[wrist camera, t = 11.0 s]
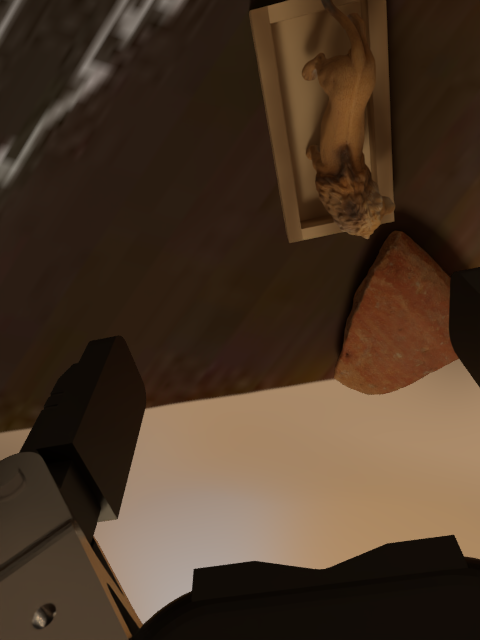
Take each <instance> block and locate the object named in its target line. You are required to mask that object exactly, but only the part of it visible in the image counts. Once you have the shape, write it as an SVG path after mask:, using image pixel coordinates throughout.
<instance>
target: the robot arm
mask: <svg viewBox="0 0 480 640" xmlns="http://www.w3.org/2000/svg"><path fill="white" fill-rule="evenodd" d="M449 336H450V341H451V344H452V347H453V349H454V352H455V353H456V355H457V356H458V358H459V359H460V360H461V362H462V363H463V365H464V366H465V367H466V369H467V370H468V372H469V373H470V374H471V376H472V377H473V379H474V380H475V381H476V383H477V384H478V386H479V387H480V267H478V268H473V269H468V270H462V271H457V272H454V273H453V274H452V276H451V280H450V302H449ZM145 407H146V392H145V387H144V383H143V381H142V378H141V376H140V374H139V371H138V369H137V367H136V364H135V362H134V360H133V357H132V355H131V353H130V350H129V348H128V346H127V344H126V341H125V340H124V338H123V337H121V336H114V337H109V338H104V339H98V340H93V341H90V342H89V343H88V345H87V347H86V349H85V351H84V353H83V355H82V357H81V359H80V361H79V363H76V364H73V365H72V366H71V367H70V368H69V369H68V370H67V371H66V372H65V373H64V374H63V375H62V376H61V377H60V378H59V379H58V381H57V383H56V384H55V386H54V388H53V390H52V392H51V397H49V398H48V399H47V401H46V403H45V405H44V410H42V411H41V413H40V414H39V416H38V418H37V420H36V422H35V424H34V426H33V428H32V430H31V431H30V433H29V435H28V437H27V439H26V441H25V443H24V445H23V446H22V448H21V450H20V452H19V453H18V454H14V455H12V456H9V457H7V458H5V459H3V460H1V461H0V640H480V559H476V558H470V557H464V556H463V554H462V551H461V549H460V547H459V545H458V542H457V540H456V538H455V536H454V535H449V536H442V537H434V538H426V539H419V540H411V541H404V542H396V543H388V544H385V545H383V546H380V547H378V548H376V549H373V550H371V551H368V552H366V553H363V554H361V555H359V556H356V557H354V558H351V559H349V560H346V561H344V562H342V563H339V564H337V565H335V566H332V567H330V568H326V569H320V570H319V569H310V568H302V567H295V566H288V565H280V564H273V563H265V562H259V561H251V562H243V563H236V564H228V565H220V566H214V567H206V568H198V569H194V574H193V585H192V591H191V592H189V593H187V594H184V595H182V596H181V597H179V598H177V599H175V600H174V601H172V602H170V603H169V604H167V605H166V606H165V607H163V608H162V609H161V610H159V611H158V612H157V613H155V614H154V615H153V616H152V617H151V618H150V619H149V620H148V621H147V622H145V623H144V624H142V623H141V621H140V619H139V618H138V616H137V614H136V613H135V611H134V609H133V607H132V606H131V604H130V602H129V600H128V598H127V596H126V594H125V592H124V591H123V589H122V587H121V585H120V583H119V581H118V579H117V578H116V576H115V574H114V572H113V570H112V568H111V566H110V564H109V563H108V561H107V559H106V557H105V555H104V553H103V551H102V550H101V548H100V546H99V544H98V542H97V541H96V539H95V538H94V536H93V535H94V532H95V528H96V525H97V522H102V521H109V520H116V519H118V515H119V511H120V507H121V503H122V499H123V495H124V491H125V487H126V483H127V479H128V474H129V471H130V467H131V462H132V459H133V455H134V451H135V447H136V443H137V439H138V435H139V431H140V427H141V423H142V419H143V415H144V411H145Z"/></svg>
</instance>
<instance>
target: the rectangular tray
mask: <svg viewBox="0 0 480 640" xmlns="http://www.w3.org/2000/svg"><path fill="white" fill-rule="evenodd" d="M332 2H333V4H334V5H335V6H336V7H337V8H338V9H339V10H340V11H341V12H342V13H343V14H345V15H346V16H347V15H349V14H350V13H358V14H359V15H360V17H361V18H362V19H363V20H364V22H365V25H366V30H365V32H366V40H367V43H368V46H369V48H370V50H371V52H372V54H373V56H374V59H375V64H376V83H375V87H374V89H373V92H372V94H371V96H370V98H369V100H368V102H367V105H366V107H365V113H364V117H365V139H364V145H363V150H362V152H363V153H364V157H365V164H366V165H367V166H368V168H369V170H370V172H371V175H372V180H373V181H375V182H376V183H377V184H378V187H379V192H380V194H381V196H386V197H389V198H390V199H391V201H392V202H393V203H394V200H393V173H392V146H391V119H390V92H389V65H388V38H387V11H386V0H332ZM249 17H250V22H251V28H252V34H253V40H254V46H255V52H256V57H257V63H258V69H259V75H260V81H261V87H262V93H263V98H264V104H265V110H266V116H267V122H268V128H269V133H270V139H271V145H272V151H273V157H274V163H275V169H276V174H277V180H278V186H279V192H280V198H281V204H282V209H283V215H284V221H285V227H286V232H287V236H288V240H289V243H291V242H296V241H301V240H306V239H311V238H316V237H321V236H325V235H330V234H335V233H340V232H343V231H341V230H340V228H339V226H338V225H337V224H336V223H335V222H334V220H333V217H332V215H331V214H330V213H329V212H328V211H327V210H326V209H325V206H324V205H323V203H322V202H321V200H320V199H319V193H318V192H317V190H316V184H315V179H316V174H317V172H316V170H315V169H314V168H313V165H312V160H310V159H308V157H307V156H306V150H307V149H308V148H309V147H310V146H311V145H316V144H317V145H319V146H320V139H321V123H322V119H323V116H324V113H325V110H326V107H327V105H328V101H329V96H328V94H327V93H326V92H325V91H324V89H323V88H322V87H321V86H320V84H319V80H318V76H317V78H316V79H315V80H312V81H307V80H304V78H303V77H302V69H303V67H304V65H305V64H306V63H307V62H308V61H310V60H312V59H313V58H315V57H316V56H317V55H318V54H319V53H324V54H325V58H326V59H329V58H331V57H334V56H338V55H347V54H348V51H349V50H350V49H351V44H350V40H349V37H348V35H347V33H345V31H344V28H343V27H342V26H341V24H340V23H339V22H338V21H337V20H336V19H335V18H334V17H333V16H332V15H331V14H330V13H329V12H327V11H326V10H325V8H324V6H323V4H322V2H321V0H288V1H284V2H280V3H277V4H273V5H269V6H265V7H261V8H258V9H254V10H250V12H249ZM393 221H394V211H393V212H392V213H391V214H388V215H385V216H383V218H382V220H381V224H384V223H389V222H393Z"/></svg>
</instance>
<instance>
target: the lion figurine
mask: <svg viewBox="0 0 480 640" xmlns="http://www.w3.org/2000/svg"><path fill="white" fill-rule="evenodd" d="M321 2H322V4H323V6H324V8H325V10H326V11H327V12H329V13H330V14H331V15H332V16H333V17H334V18H335V19H336V20H337V21H338V22H339V23H340V24H341V26H342V27H343V28H344V31H345V33H347V35H348V37H349V40H350V44H351V49H350V50H349V51H348V54H347V55H338V56H334V57H331V58H329V59H326V58H325V54H324V53H319V54H318V55H317V56H316V57H315V58H313V59H312V60H310V61H308V62H307V63H306V64H305V65H304V67H303V69H302V77H303V78H304V80H307V81H312V80H315V79H316V78H317V76H318V80H319V84H320V86H321V87H322V88H323V89H324V91H325V92H326V93H327V94H328V96H329V101H328V105H327V107H326V110H325V113H324V116H323V119H322V123H321V139H320V146H319V145H317V144H316V145H311V146H310V147H309V148H308V149H307V150H306V156H307V157H308V159H310V160H312V165H313V168H314V169H315V170H316V172H317V174H316V179H315V184H316V190H317V192H318V193H319V199H320V200H321V202H322V203H323V205H324V206H325V209H326V210H327V211H328V212H329V213H330V214H331V215H332V217H333V220H334V222H335V223H336V224H337V225H338V226H339V228H340V230H341V231H343V232H348V233H349V234H351V235H357V236H358V235H359V236H363V237H364V238H366V239H368V238H369V236H370V234H373V232H374V230H375V229H376V228H378V226H379V225H380V224H381V220H382V218H383V216H385V215H388V214H391V213H392V212H393V211H394V209H395V204H394V203H393V202H392V201H391V199H390V198H389V197H386V196H381V194H380V192H379V187H378V184H377V183H376V182H375V181H373V180H372V175H371V172H370V170H369V168H368V166H367V165H366V164H365V157H364V153H363V152H362V150H363V145H364V139H365V117H364V113H365V107H366V105H367V102H368V100H369V98H370V96H371V94H372V92H373V89H374V87H375V83H376V64H375V59H374V56H373V54H372V52H371V50H370V48H369V46H368V43H367V40H366V32H365V30H366V25H365V22H364V20H363V19H362V18H361V17H360V15H359V14H358V13H350V14H349V15H347V16H346V15H345V14H343V13H342V12H341V11H340V10H339V9H338V8H337V7H336V6H335V5H334V4H333V2H332V0H321Z"/></svg>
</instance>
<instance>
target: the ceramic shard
mask: <svg viewBox="0 0 480 640" xmlns="http://www.w3.org/2000/svg"><path fill="white" fill-rule="evenodd" d="M450 280H451V278H450V277H449V276H448V275H447V274H446V273H445V272H444V271H443V270H442V269H441V267H440V266H439V265H438V264H437V263H436V262H435V261H434V260H433V259H432V258H431V257H430V256H429V255H428V254H427V253H426V252H425V251H424V250H423V249H422V248H421V247H420V246H419V245H417V244H416V243H415V242H414V241H413V240H412V239H411V238H410V237H409V236H407V235H406V234H405V233H403V232H401V231H394V232H392V233H391V234H390V235H389V236H388V238H387V239H386V240H385V241H384V243H383V245H382V247H381V249H380V251H379V254H378V256H377V258H376V260H375V262H374V264H373V265H372V266H371V267H370V269H369V271H368V274H367V276H366V277H365V278H364V279H363V281H362V283H361V285H360V286H359V287H358V289H357V291H356V293H355V295H354V298H353V305H352V310H351V313H350V315H349V316H348V318H347V321H346V327H345V331H344V343H343V348H342V351H341V354H340V356H339V358H338V360H337V363H336V366H335V371H334V378H335V379H336V380H338V381H339V382H341V383H342V384H343V385H345V386H347V387H349V388H351V389H354V390H357V391H359V392H362V393H365V394H369V395H370V394H371V395H372V394H373V395H374V394H385V393H390V392H392V391H396V390H398V389H400V388H403V387H406V386H408V385H410V384H412V383H414V382H416V381H417V380H419V379H421V378H423V377H424V376H426V375H428V374H429V373H431V372H434V371H436V370H438V369H440V368H442V367H443V366H445V365H447V364H449V363H451V362H453V361H455V360H457V359H459V358H458V356H457V355H456V353H455V352H454V349H453V347H452V344H451V341H450V336H449V302H450Z"/></svg>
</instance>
